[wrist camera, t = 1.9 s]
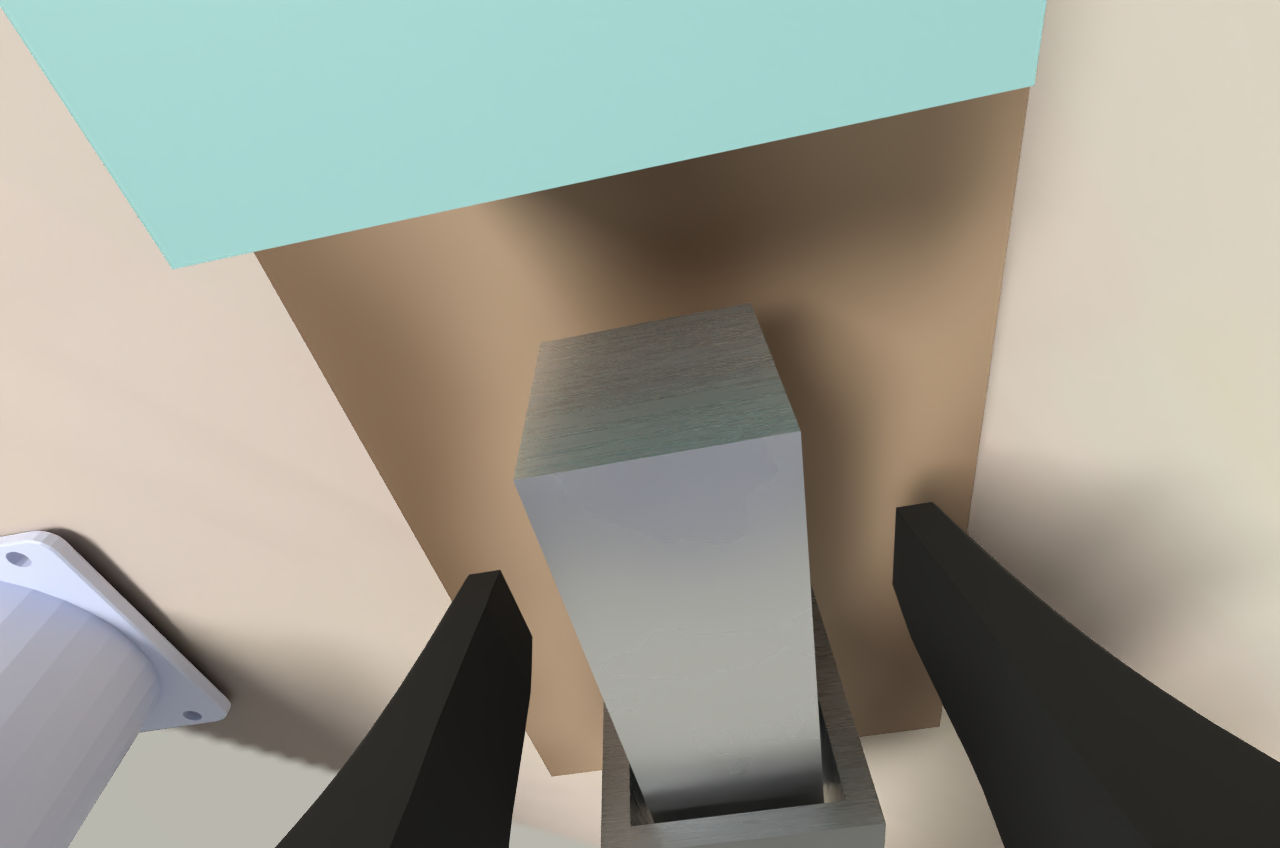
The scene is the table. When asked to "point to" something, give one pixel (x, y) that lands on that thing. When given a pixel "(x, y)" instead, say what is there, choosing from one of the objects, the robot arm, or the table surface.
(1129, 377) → the table surface
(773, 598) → the grey rectangular bar
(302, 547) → the table surface
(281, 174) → the teal socket block
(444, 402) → the walnut board
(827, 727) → the grey sleeve
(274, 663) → the table surface
